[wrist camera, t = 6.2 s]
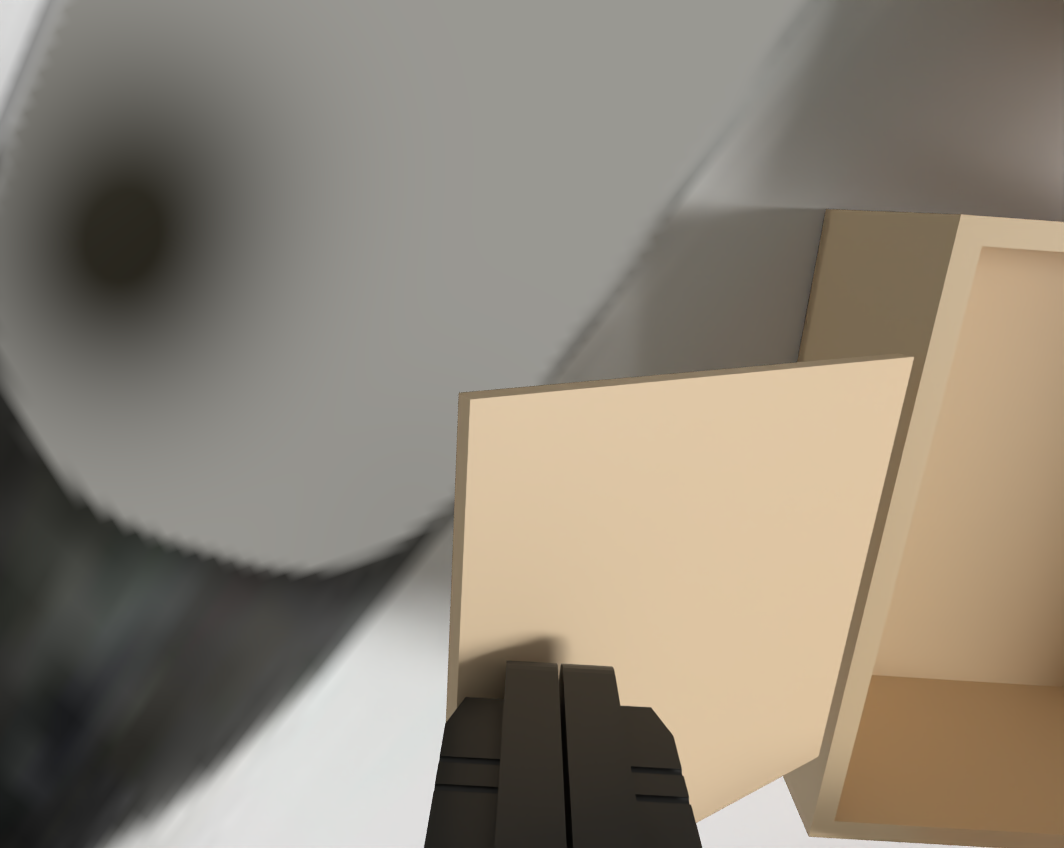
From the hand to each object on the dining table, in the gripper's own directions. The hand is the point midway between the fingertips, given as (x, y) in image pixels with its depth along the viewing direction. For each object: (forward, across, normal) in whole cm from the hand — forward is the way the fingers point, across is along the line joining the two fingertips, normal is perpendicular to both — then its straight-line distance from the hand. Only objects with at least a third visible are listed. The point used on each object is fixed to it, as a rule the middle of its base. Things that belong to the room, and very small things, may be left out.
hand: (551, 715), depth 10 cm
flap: (+2, -3, 0) cm, 3 cm away
